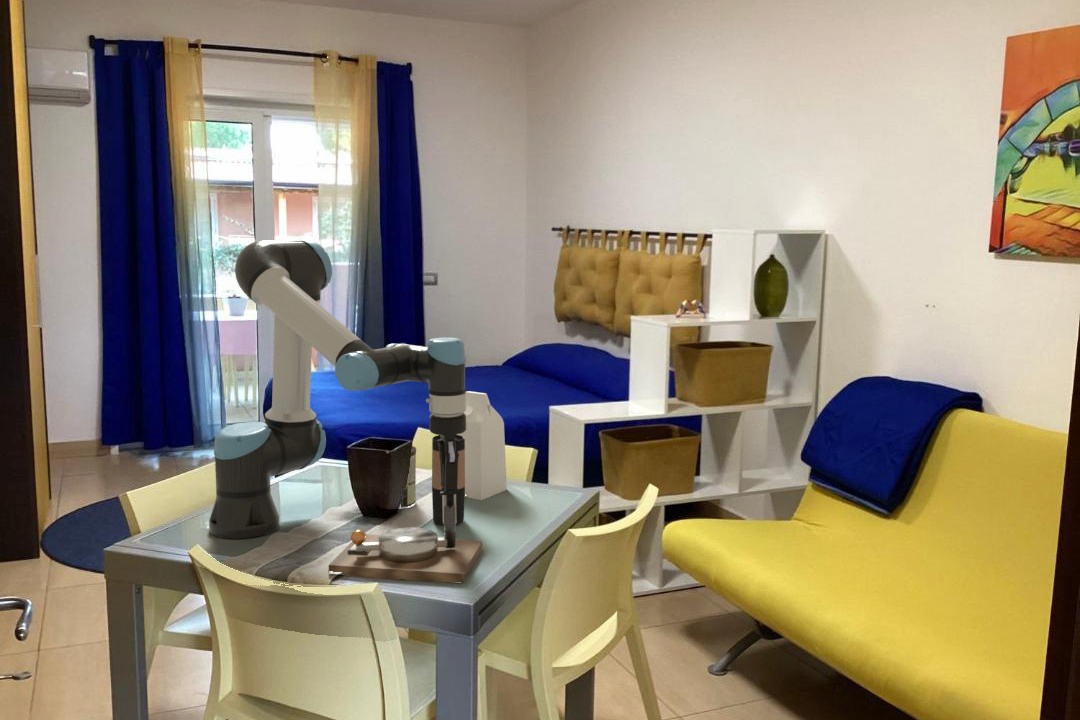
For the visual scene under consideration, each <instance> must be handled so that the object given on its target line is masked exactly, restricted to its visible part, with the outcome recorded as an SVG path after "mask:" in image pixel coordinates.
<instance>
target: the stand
mask: <svg viewBox="0 0 1080 720" xmlns="http://www.w3.org/2000/svg"><path fill="white" fill-rule="evenodd" d="M365 534H366V540H365V542H364V543H368V542H379V536H380V535H381V534H373V533H372V534H371V533H365ZM482 552H483V541H482V540H472V539H471V540H470V539H456V546H455V547H454V548H445V547H438V552H437V554H436V555H434V556H432V557H430V558H428V559H424V560H420V561H411V562H400V561H392V560H388V559H385V558H383V557H381V556H380V555H379V550H374V551H359V552H356V544H354V543H353V542H352V541H351V542H350V543H349V544H348V545H347V546H345V548H344V549H343V550H342V551H340V553H339V554H338V555H336V557H335V558H334V559H333V560H332V561H331V562H330V563H329V564H328V566H327V567H328V572H329V571H333V572H342V573H343V574H344V575H348V576H347V577H357V578H358V577H359V578H372V579H373V578H374V579H388V580H389V579H390V580H400V579H404V580H405V579H406V580H405V581H415V580H417V581H418V582H419V580H420V582H430V581H437V582H436V583H445V582H461V583H463V582H464V583H465V581H466V579H467V578H468V576H469V574H470V573H471V571H472V569H473V566H474V565H475V563H476V561H478V558H479V557H480V555H481V553H482ZM467 575H468V576H467ZM465 578H466V579H465ZM404 580H403V581H404ZM464 580H465V581H464ZM438 581H439V582H438ZM464 583H463V584H464Z"/></svg>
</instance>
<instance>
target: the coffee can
mask: <svg viewBox="0 0 1080 720" xmlns="http://www.w3.org/2000/svg"><path fill="white" fill-rule="evenodd" d="M411 446H412V449H411V458H410V468H409V474H408V480H407V485H406V489H405V492H404V496H403V499H402V501H401V508H403V507H408V506H411V505H412V504H414V503H415V502H416V501H417V500H416V498H417V497H416V495H417V494H416V493H417V492H416V489H417V487H416V484H417V483H416V481H417V480H416V479H417V478H416V476H417V472H416V471H417V470H416V468H417V467H416V463H417V462H416V459H417V458H416V457H417V456H416V455H417V454H416V453H417V448H416V447H415V446H413V445H411ZM416 503H417V502H416Z"/></svg>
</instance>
